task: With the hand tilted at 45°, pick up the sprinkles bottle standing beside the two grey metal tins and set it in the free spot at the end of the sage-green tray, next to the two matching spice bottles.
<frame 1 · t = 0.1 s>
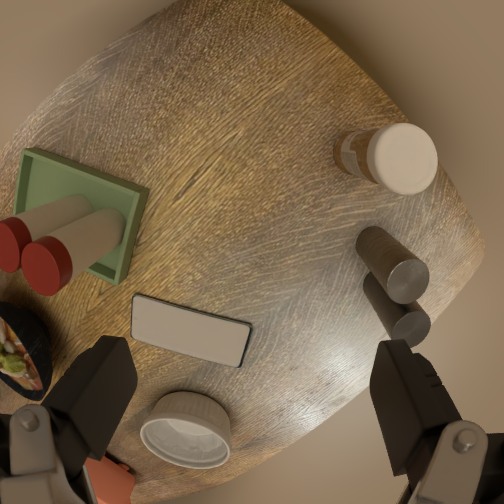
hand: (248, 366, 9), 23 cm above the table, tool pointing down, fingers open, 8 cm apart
teapot: (107, 461, 52), on the table
smartphone: (188, 330, 37), on the table
ramekin: (193, 412, 42), on the table
sprinkles bottle: (353, 153, 29), on the table
spice bottle A: (78, 213, 32), point 1 cm above the table, touching tray
grey tin B: (379, 283, 33), on the table
tray: (74, 209, 32), on the table
spice bottle B: (110, 227, 32), point 1 cm above the table, touching tray
bowl: (33, 328, 40), on the table
grey tin A: (372, 244, 31), on the table
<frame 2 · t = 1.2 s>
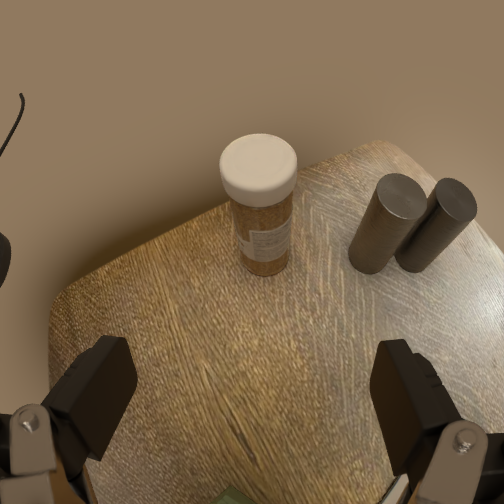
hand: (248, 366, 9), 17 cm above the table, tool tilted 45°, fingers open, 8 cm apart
smartphone: (421, 487, 18), on the table
sprinkles bottle: (265, 256, 29), on the table
grey tin B: (411, 254, 28), on the table
grey tin A: (367, 255, 28), on the table
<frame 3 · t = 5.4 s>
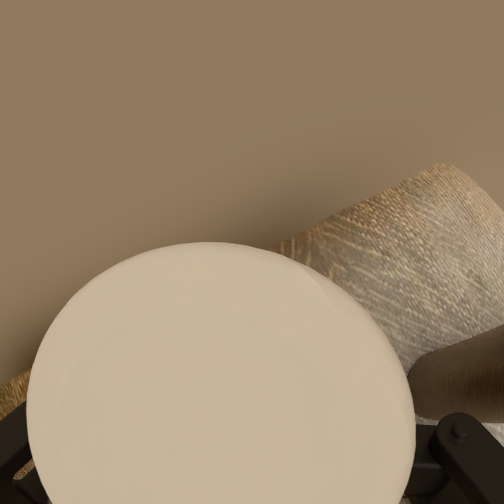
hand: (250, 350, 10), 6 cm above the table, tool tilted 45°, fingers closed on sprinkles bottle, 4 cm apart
sprinkles bottle: (259, 400, 14), on the table, touching gripper
grey tin A: (435, 385, 14), on the table
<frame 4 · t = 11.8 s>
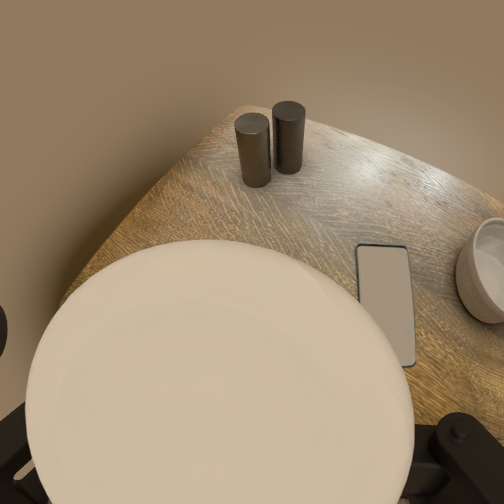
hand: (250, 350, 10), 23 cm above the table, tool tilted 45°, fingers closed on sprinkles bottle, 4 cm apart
smartphone: (385, 305, 33), on the table
ramekin: (482, 284, 32), on the table
sprinkles bottle: (259, 400, 14), point 17 cm above the table, touching gripper
grey tin B: (287, 164, 42), on the table
grey tin A: (256, 176, 42), on the table
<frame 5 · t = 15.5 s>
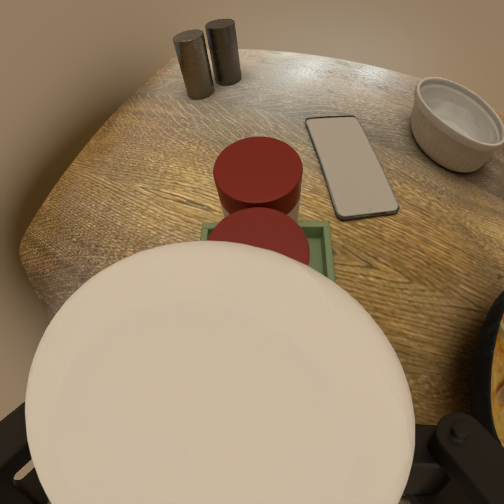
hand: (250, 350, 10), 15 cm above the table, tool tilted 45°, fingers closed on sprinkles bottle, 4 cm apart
smartphone: (348, 162, 32), on the table
ramekin: (445, 144, 33), on the table
sprinkles bottle: (259, 400, 14), point 9 cm above the table, touching gripper
spice bottle A: (265, 319, 25), point 1 cm above the table, touching tray
grey tin B: (228, 78, 41), on the table
tray: (265, 332, 25), on the table
spice bottle B: (266, 265, 27), point 1 cm above the table, touching tray
bowl: (497, 377, 21), on the table
grey tin A: (201, 91, 40), on the table
when the fingers open (7 cm above the table, at t = 18.3 s): sprinkles bottle stays where it is, resting on tray.
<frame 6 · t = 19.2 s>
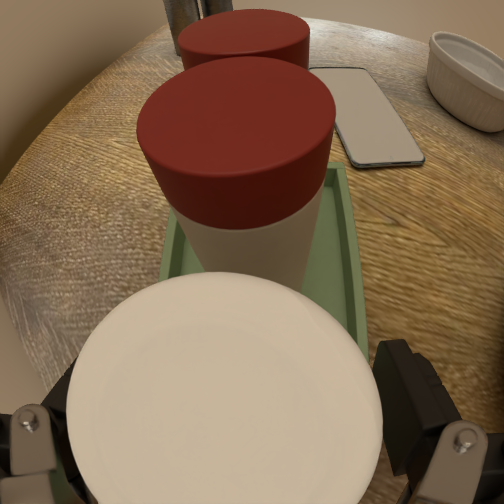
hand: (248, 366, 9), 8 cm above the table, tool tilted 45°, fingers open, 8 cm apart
smartphone: (360, 111, 25), on the table
ramekin: (464, 104, 26), on the table
sprinkles bottle: (259, 399, 15), resting on tray
spice bottle A: (260, 289, 18), point 1 cm above the table, touching tray
grey tin B: (221, 37, 34), on the table
tray: (260, 308, 18), on the table
spice bottle B: (261, 219, 20), point 1 cm above the table, touching tray
grey tin A: (191, 49, 33), on the table
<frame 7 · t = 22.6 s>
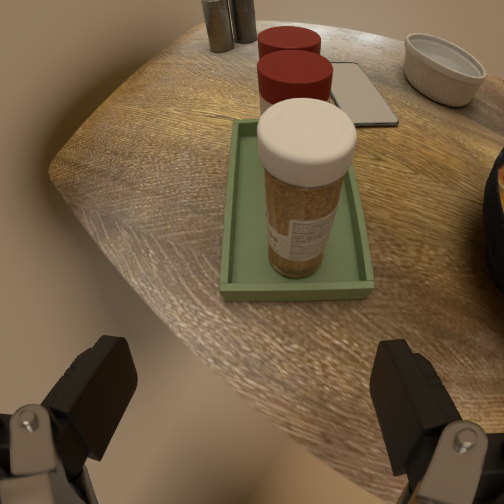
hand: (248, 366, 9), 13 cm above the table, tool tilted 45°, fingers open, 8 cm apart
smartphone: (352, 92, 35), on the table
ramekin: (435, 87, 36), on the table
sprinkles bottle: (295, 255, 25), resting on tray
spice bottle A: (292, 190, 27), point 1 cm above the table, touching tray
grey tin B: (245, 39, 44), on the table
tray: (292, 203, 27), on the table
spice bottle B: (289, 153, 29), point 1 cm above the table, touching tray
grey tin A: (222, 47, 43), on the table
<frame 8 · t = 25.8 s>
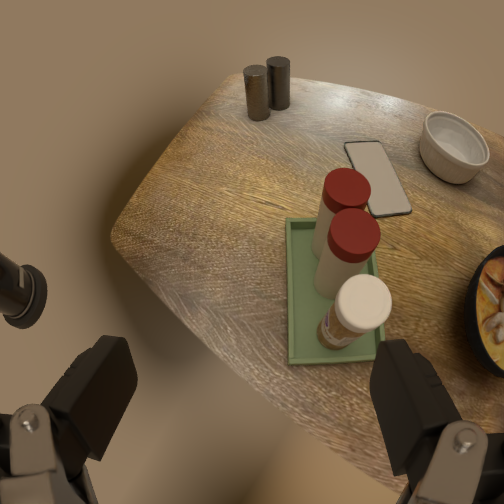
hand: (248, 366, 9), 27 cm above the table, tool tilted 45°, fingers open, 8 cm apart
smartphone: (376, 177, 44), on the table
ramekin: (444, 162, 45), on the table
sprinkles bottle: (334, 332, 34), resting on tray
spice bottle A: (331, 281, 37), point 1 cm above the table, touching tray
grey tin B: (279, 104, 53), on the table
tray: (331, 291, 37), on the table
spice bottle B: (328, 247, 39), point 1 cm above the table, touching tray
bowl: (485, 327, 33), on the table
grey tin A: (258, 114, 52), on the table
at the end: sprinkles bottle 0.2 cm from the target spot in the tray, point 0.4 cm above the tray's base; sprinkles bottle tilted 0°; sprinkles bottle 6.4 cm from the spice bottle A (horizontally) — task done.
